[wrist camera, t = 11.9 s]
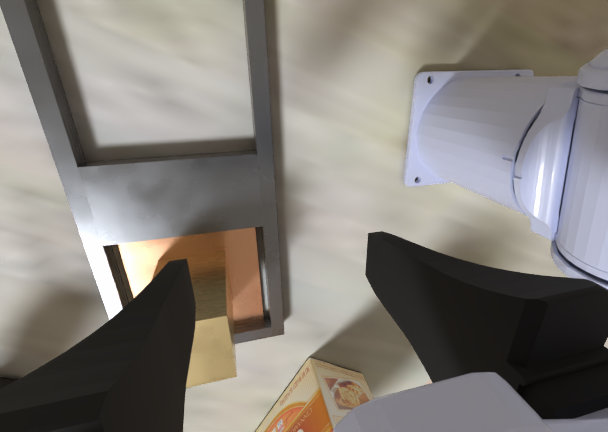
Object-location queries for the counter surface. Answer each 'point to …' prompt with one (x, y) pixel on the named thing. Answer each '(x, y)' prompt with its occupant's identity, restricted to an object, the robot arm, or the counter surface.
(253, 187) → the gray rectangular frame
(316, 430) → the coffeecake box
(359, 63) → the counter surface
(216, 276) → the brass block
